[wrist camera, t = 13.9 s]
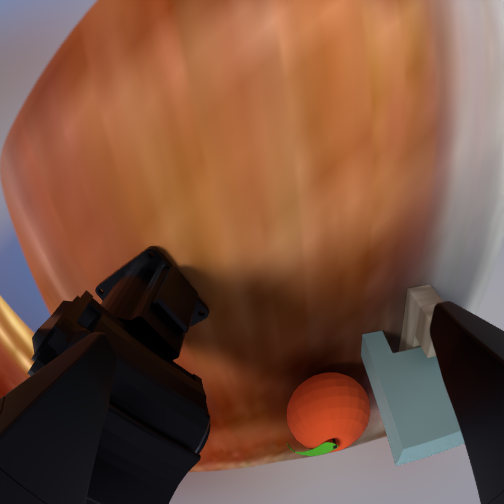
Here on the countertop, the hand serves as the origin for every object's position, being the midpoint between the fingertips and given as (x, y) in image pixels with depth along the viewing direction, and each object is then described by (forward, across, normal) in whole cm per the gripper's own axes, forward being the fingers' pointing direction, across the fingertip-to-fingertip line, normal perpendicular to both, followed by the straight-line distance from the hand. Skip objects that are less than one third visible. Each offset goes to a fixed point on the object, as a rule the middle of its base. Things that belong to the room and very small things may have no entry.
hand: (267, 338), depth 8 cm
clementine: (+13, -3, +18) cm, 22 cm away
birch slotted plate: (+13, -11, +14) cm, 22 cm away
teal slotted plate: (+13, -10, +13) cm, 21 cm away
